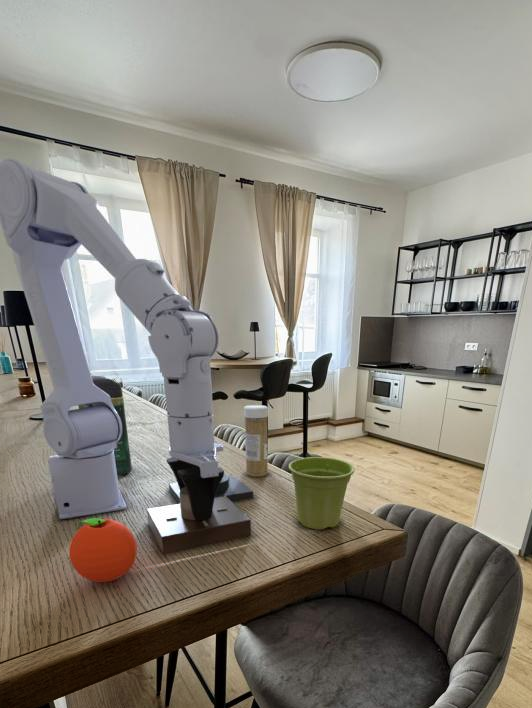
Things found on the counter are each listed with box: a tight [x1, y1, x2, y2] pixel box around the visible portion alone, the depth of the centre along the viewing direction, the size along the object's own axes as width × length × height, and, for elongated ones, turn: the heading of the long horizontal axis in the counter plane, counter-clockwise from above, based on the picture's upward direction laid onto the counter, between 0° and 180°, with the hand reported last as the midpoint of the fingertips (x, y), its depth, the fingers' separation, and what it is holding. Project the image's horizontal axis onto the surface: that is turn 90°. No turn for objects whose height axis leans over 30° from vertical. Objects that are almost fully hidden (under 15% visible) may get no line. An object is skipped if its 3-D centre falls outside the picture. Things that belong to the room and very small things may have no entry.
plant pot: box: [288, 456, 356, 530], centre depth 60 cm, size 9×9×9 cm
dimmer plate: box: [146, 496, 252, 555], centre depth 58 cm, size 12×10×3 cm
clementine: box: [68, 517, 138, 583], centre depth 46 cm, size 8×7×7 cm
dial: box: [179, 487, 213, 520], centre depth 57 cm, size 4×4×4 cm
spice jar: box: [243, 404, 269, 478], centre depth 80 cm, size 5×5×13 cm
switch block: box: [168, 473, 254, 504], centre depth 71 cm, size 12×10×3 cm
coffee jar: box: [77, 375, 133, 477], centre depth 80 cm, size 10×8×19 cm
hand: (197, 512), depth 57 cm, fingers closed on dial, 4 cm apart
